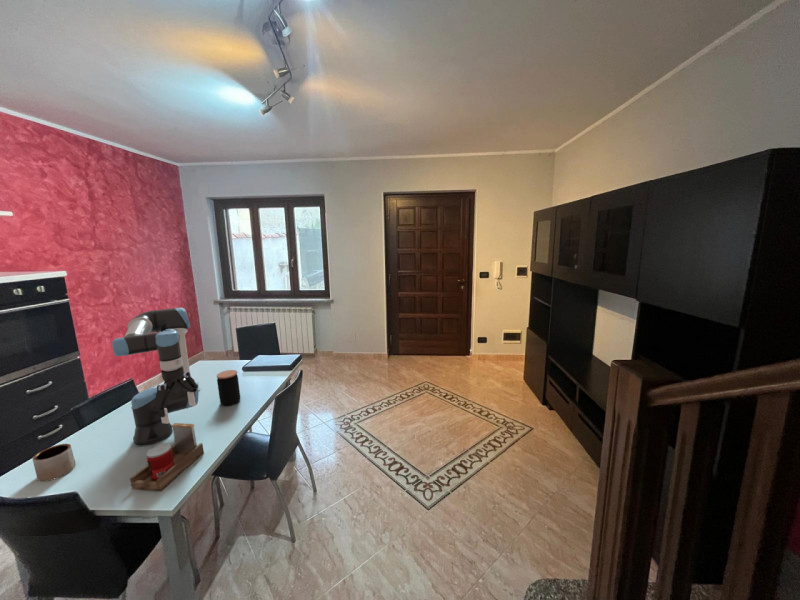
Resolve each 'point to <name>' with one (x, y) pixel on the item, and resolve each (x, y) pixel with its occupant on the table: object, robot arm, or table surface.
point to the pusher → (184, 437)
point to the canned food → (159, 460)
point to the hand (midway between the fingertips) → (179, 413)
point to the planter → (54, 462)
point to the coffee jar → (228, 387)
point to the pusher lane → (180, 464)
